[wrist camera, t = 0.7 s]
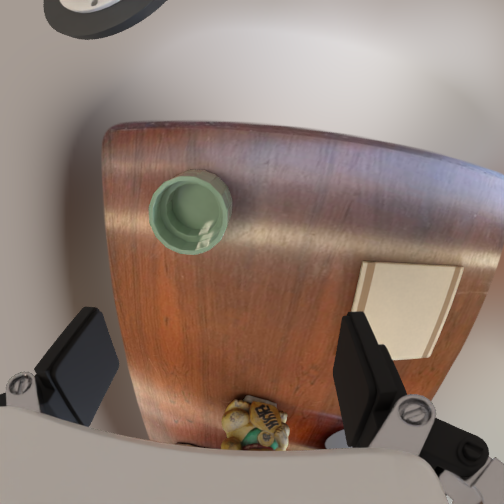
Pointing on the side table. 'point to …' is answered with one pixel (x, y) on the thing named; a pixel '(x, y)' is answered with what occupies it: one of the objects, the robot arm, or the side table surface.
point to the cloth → (406, 304)
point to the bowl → (191, 211)
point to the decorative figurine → (254, 426)
